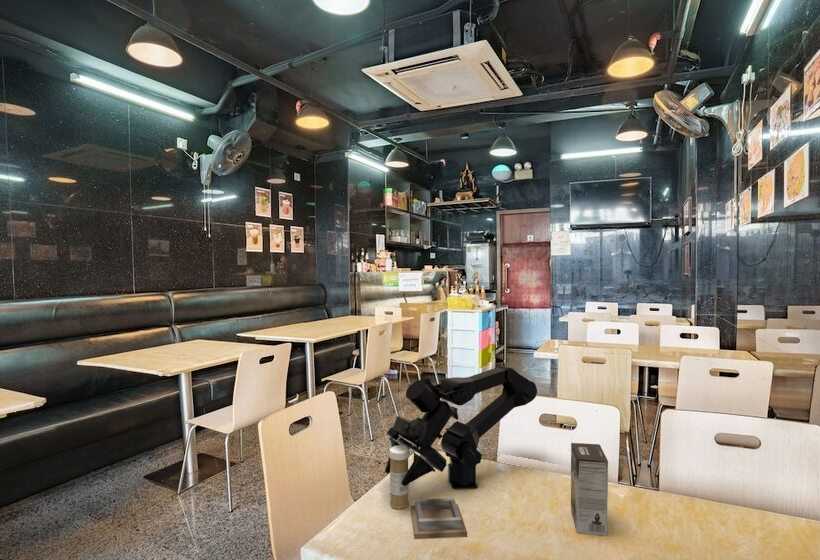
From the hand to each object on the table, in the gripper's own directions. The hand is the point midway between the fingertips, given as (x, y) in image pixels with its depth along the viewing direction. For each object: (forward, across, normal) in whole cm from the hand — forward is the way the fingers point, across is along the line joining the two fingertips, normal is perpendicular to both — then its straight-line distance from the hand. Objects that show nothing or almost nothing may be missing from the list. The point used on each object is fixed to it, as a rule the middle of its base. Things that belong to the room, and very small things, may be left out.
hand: (394, 478), depth 104 cm
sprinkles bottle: (+4, 0, +6) cm, 7 cm away
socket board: (+2, +11, +8) cm, 14 cm away
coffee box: (-18, +29, +28) cm, 44 cm away
